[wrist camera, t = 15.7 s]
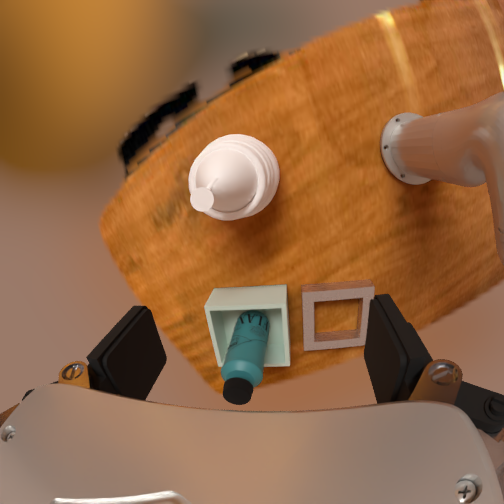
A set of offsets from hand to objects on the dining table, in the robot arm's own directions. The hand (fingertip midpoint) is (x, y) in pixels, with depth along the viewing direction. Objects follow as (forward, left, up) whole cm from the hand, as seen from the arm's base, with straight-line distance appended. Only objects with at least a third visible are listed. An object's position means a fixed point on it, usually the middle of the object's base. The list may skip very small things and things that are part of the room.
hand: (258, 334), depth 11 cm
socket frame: (-9, +22, -36) cm, 43 cm away
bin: (+7, +22, -36) cm, 43 cm away
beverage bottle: (+7, +22, -36) cm, 42 cm away
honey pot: (+6, -5, -37) cm, 37 cm away
